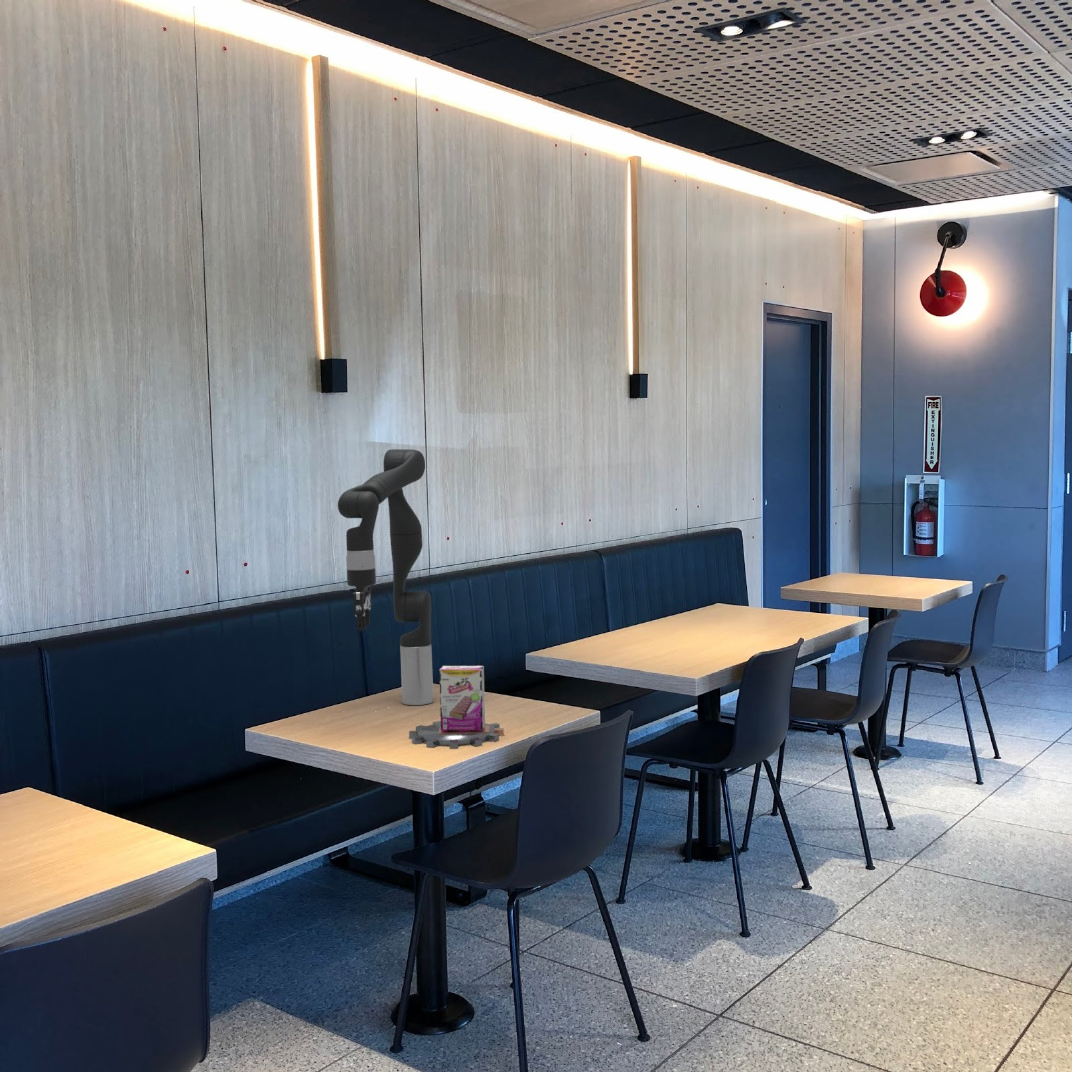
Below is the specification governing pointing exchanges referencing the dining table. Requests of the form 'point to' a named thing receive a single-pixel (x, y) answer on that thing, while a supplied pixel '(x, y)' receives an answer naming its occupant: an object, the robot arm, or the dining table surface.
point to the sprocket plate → (454, 735)
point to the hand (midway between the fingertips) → (363, 628)
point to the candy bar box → (462, 698)
